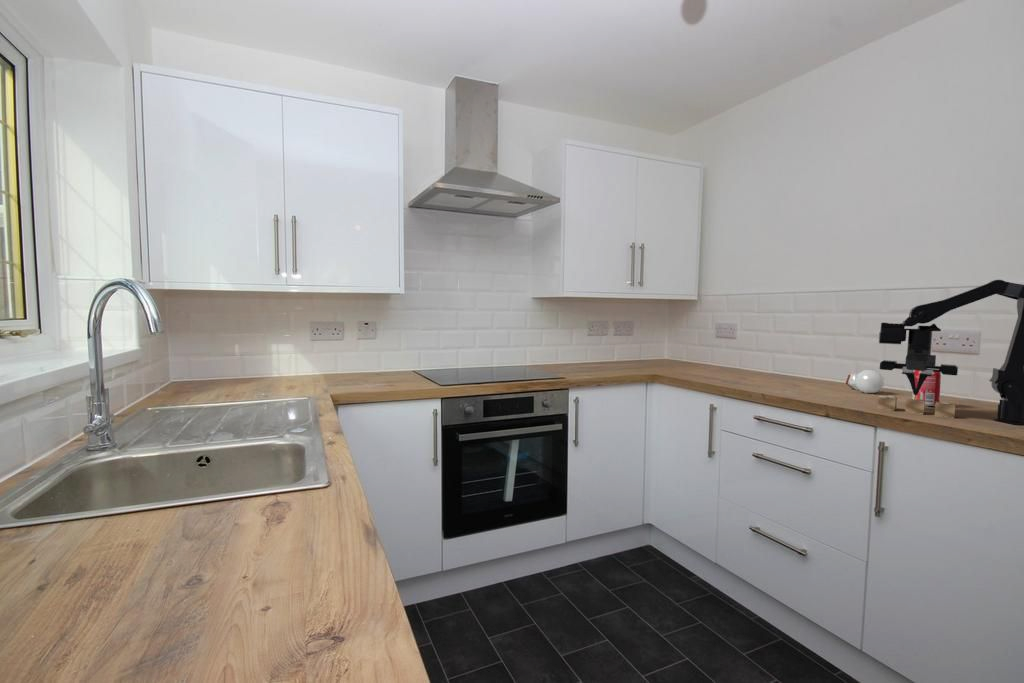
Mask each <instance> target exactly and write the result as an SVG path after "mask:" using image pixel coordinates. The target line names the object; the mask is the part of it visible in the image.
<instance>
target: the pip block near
mask: <svg viewBox="0 0 1024 683" xmlns="http://www.w3.org/2000/svg"><path fill="white" fill-rule="evenodd" d="M955 411H956V403H952V402H949V401H939V402H936V403H935V407H934V416H935V415H939V416H947V417H953V418H952V419H955V413H956V412H955Z"/></svg>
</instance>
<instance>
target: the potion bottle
mask: <svg viewBox="0 0 1024 683" xmlns="http://www.w3.org/2000/svg"><path fill="white" fill-rule="evenodd" d="M845 384H846V386H848V387H850V388H851V389H853V390H855V391H860V392H862V393H864V394H876V393H878V392H881V390H882V389H883V388H884V386H885V378H884V377H883V375H882V374H881V373H880V372H878V371H876V370H874V369H863V370H860V371H859V372H858V373H850V374H848V376H847V378H846V381H845Z"/></svg>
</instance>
